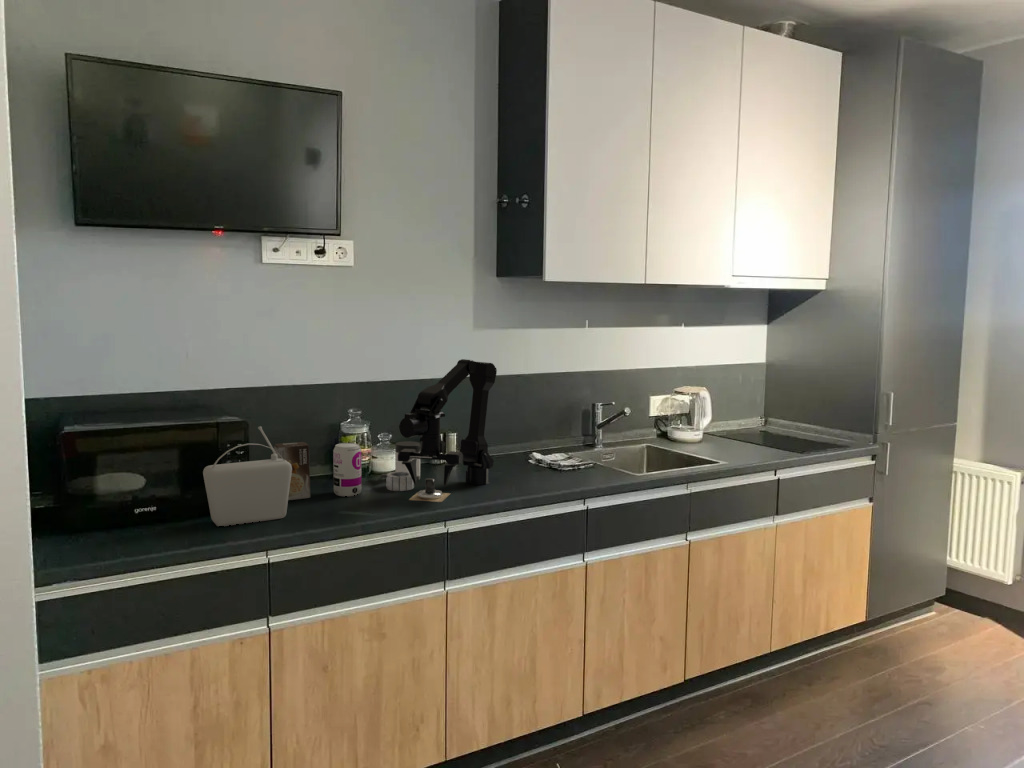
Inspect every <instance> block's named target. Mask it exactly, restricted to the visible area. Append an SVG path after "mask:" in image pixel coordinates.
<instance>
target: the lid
mask: <svg viewBox="0 0 1024 768" xmlns="http://www.w3.org/2000/svg"><path fill="white" fill-rule="evenodd" d="M435 481H436V479H435V478H432V477H431V478H430V477H429V478H425V481H424V482H425V483H424V484H425V486H424V488H425V489H421V490H419V491H417V492H418V498H421V499H427V500H431V499H439V498H441V497H442V493H443V491H442V490H439V489H435V488H436V482H435Z"/></svg>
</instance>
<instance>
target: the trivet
mask: <svg viewBox="0 0 1024 768" xmlns="http://www.w3.org/2000/svg"><path fill="white" fill-rule="evenodd" d="M418 492H419V491H417V492H416V493H415V494H414V495H412V496H411V497H410V498H409V499H408V501H421V502H422V501H423V502H424V501H425V502H433V503H435V502H437V503H442V502H444V501H445V500H446V499H447V498H448V497H449V496H450V495H451V493H449V492H442V497H441V498H439V499H431V500H427V499H421V498H418Z"/></svg>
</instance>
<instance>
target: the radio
mask: <svg viewBox="0 0 1024 768" xmlns="http://www.w3.org/2000/svg"><path fill="white" fill-rule="evenodd" d="M257 429H258V430H259V431H260V432H261V434H262V436H263V438H264V440H265V441H266V443H267V445H268V446H266V445H264V444H260V443H244V444H240V445H237V446H234V447H232V448H230V449H228V450H226V451H225V452H224V453H222V455H220V456H219V457H218V458H217V460H215V462H214V463H213V464H210V465H207V466H205V467H204V468H203V471H202V475H203V480H204V481H203V482H204V486H205V492H206V496H207V502H208V507H209V513H210V519H211V521H212V522H213V523H214V524H215V525H216V527H219V526H224V527H230V526H229V525H231V526H237V525H236V524H239V525H245V524H244V523H246V524H250V523H252V522H253V523H258V522H259V521H260V522H266V521H273V520H274V521H275V520H280V519H283V518H285V517H286V516H287V510H288V505H289V504H288V502H289V500H288V496H289V489H290V481H291V474H292V466H291V464H290V463H289V462H287V461H286V460H284V459H283V458H282V456H281V455H280V454H279V453H278V454H279V455H280V457H281V458H282V459H277V456H278V455H277V454H276V453H275V452H276V451H275V450H274V447H273V445H272V444H271V442H270V440H269V439H268V436H267V435H266V434H265V431H264V430H263V427H262V426H261V425H260V426H258V427H257ZM250 445H253V446H262V447H265V448H268V449H270V450H271V451H272V453H271V455H270V459H261V460H249V461H241V462H240V461H239V462H231V463H229V462H228V463H221V464H220V463H219V464H218V462H219V461H220V459H222V458H223V457H224V456H225V455H226V454H227V453H229V452H231V451H233V450H235V449H237V448H239V447H245V446H250ZM253 523H252V524H253Z"/></svg>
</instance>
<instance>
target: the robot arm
mask: <svg viewBox="0 0 1024 768" xmlns="http://www.w3.org/2000/svg"><path fill="white" fill-rule="evenodd" d="M497 371H498V370H497V367H496V365H495V364H494V363H492V362H484V361H474V360H472V359H467V358H465V359H463V358H462V359H459V360H458V361H457V363H456V364H455V366H453V367H452V368H451V369H450V370H449V372H447V373H445V375H444V376H443V377H442V378H440V380H439V381H438V382H437V383H435V384H433V385H430V386H426V388H424V389H422V390H421V391H420V392H419V393H418V394H417V398H416V400H415V402H414V404H413V405H412V408H411V410H410V413H404V418H402V419H401V420H400V423H399V426H398V427H399V432H400V434H401V435H402V437H404V438H405V439H409V438H414V437H419V436H420V437H419V442H420V446H421V449H420V453H419V452H416V450H415V449H403V450H401V451H400V452H399V453H398V461H403V462H402V464H405V466H406V468H407V469H408V471H409V473H410V475H411V477H412V480H413V482H414V485H416V484H417V481H418V480H417V473H416V461H417V459H420V460H433V461H435V460H436V461H445V462H446V463H445V464H444V467H443V469H444V470H443V471H444V472H443V486H444V487H446V486H447V485H448V481H449V478H450V476H451V473H452V471H453V469H454V468H455V467H457V465H460V464H461V463H462V464H463V466H465V467H467V470H465V484H469V485H471V486H473V485H474V486H483V485H484V486H486V485H487V484H490V481H489V469H491V468H493V466H494V462H495V461H494V459H493V458H492V456H491V455H490V454H489V449H488V448H489V447H488V446H489V445H488V442H487V440H486V438H485V430H486V429H485V428H486V421H487V420H486V419H487V411H488V401H489V393H490V390H491V388H492V387H493V386H494V384H495V382H496V378H497ZM467 377H469V378H468V379H469V382H470V385H471V387H472V398H471V406H470V407H471V408H470V415H469V424H468V425H469V427H468V434H467V435H466V437H465V438H464V439H463V438H462V439H461V440H460V449H459V451H453V450H450V451H449V452H446V453H445V448H446V442H445V441H444V440H442V435H441V418H445V417H446V414H445V413H444V412H443V411H442V409H443V408H444V407H445V406H446V404H447V403H448V399H449V395H450V394H451V393H452V392H453V391H454V390H455V389H456V388H457V387H459V385H460V384H461V383H462V382H463V381H465V379H466V378H467Z"/></svg>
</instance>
